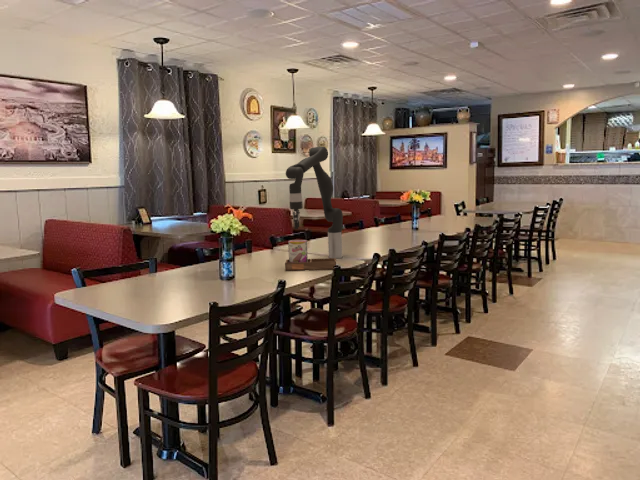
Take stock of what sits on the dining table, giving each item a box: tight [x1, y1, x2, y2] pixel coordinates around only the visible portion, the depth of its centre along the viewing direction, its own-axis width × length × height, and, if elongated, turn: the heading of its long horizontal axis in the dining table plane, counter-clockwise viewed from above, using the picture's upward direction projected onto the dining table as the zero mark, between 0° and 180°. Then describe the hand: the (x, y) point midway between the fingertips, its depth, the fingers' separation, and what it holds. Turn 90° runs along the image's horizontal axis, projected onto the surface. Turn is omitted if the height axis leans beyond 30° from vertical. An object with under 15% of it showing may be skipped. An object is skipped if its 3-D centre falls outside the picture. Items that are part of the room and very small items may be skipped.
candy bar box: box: [287, 239, 309, 263], centre depth 303 cm, size 11×5×16 cm, turn 85°
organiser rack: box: [284, 257, 337, 272], centre depth 304 cm, size 11×30×5 cm, turn 89°
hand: (297, 227), depth 301 cm, fingers open, 8 cm apart
